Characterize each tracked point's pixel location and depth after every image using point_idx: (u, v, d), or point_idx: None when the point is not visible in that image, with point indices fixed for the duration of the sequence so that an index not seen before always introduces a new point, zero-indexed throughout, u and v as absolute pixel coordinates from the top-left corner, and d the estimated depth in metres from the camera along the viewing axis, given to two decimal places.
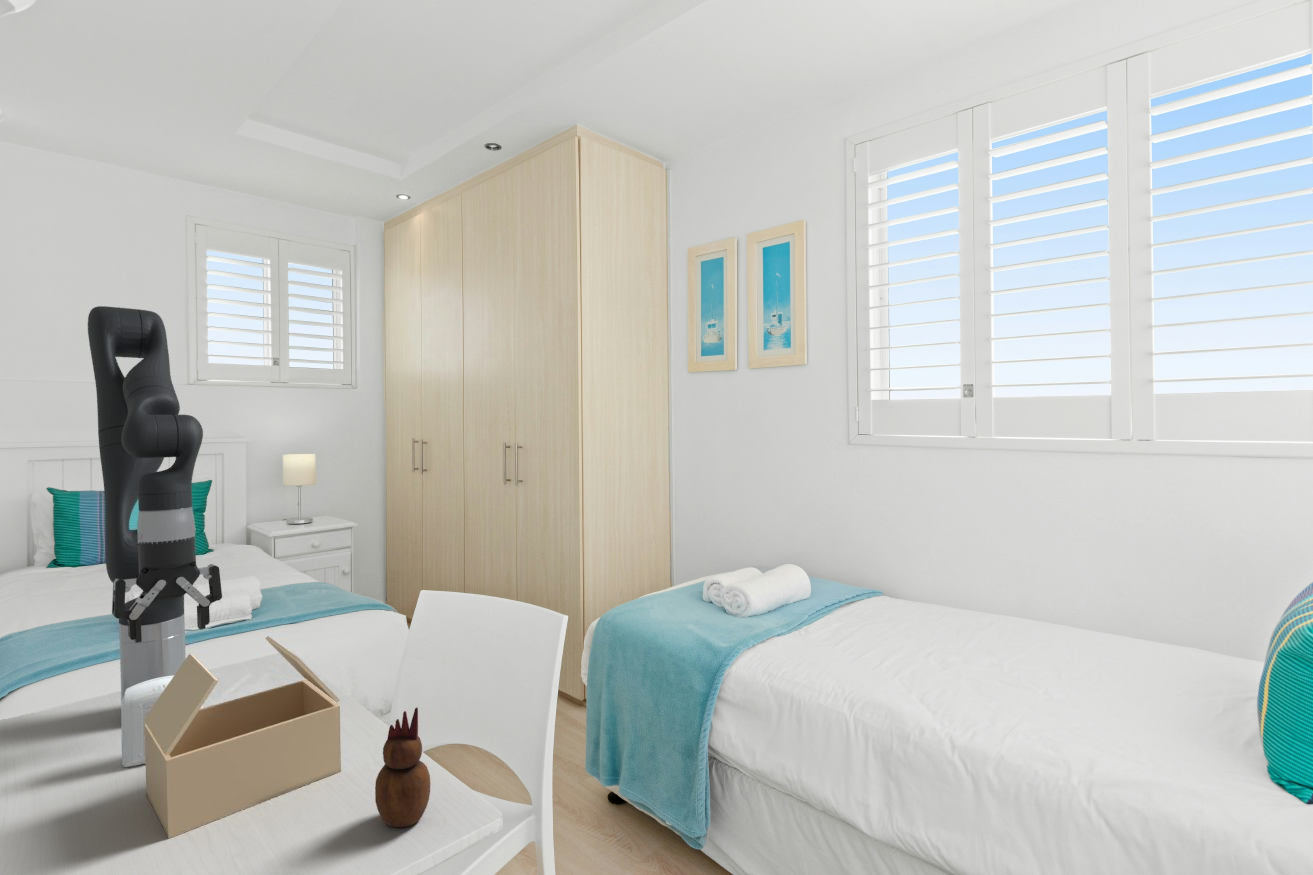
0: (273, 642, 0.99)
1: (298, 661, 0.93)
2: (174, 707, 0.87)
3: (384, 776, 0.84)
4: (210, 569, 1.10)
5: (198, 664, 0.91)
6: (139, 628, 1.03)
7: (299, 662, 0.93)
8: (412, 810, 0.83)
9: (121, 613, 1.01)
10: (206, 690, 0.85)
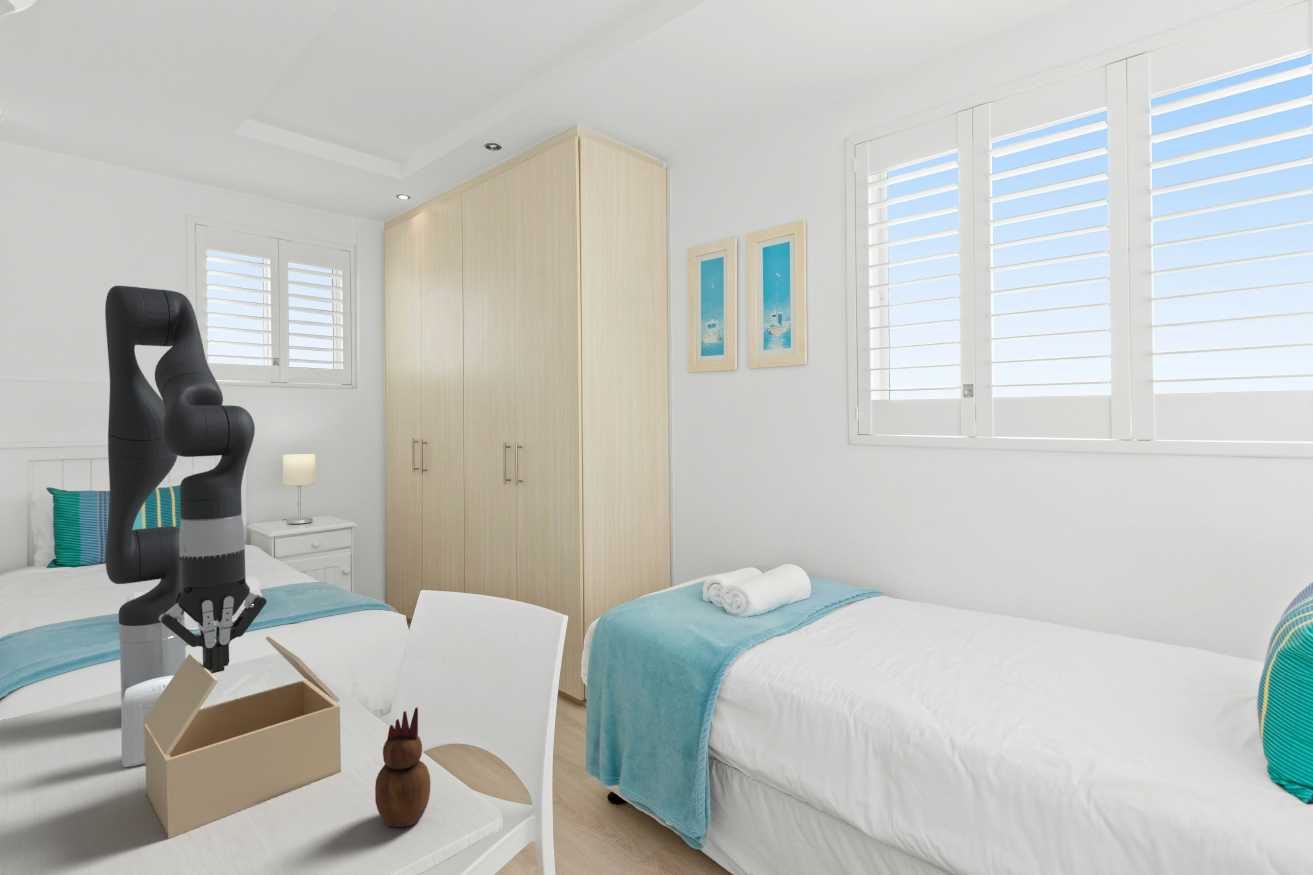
0: (273, 642, 0.99)
1: (298, 661, 0.93)
2: (174, 707, 0.87)
3: (384, 776, 0.84)
4: (258, 599, 0.94)
5: (198, 664, 0.91)
6: (216, 657, 0.90)
7: (299, 662, 0.93)
8: (412, 810, 0.83)
9: (197, 641, 0.88)
10: (206, 690, 0.85)
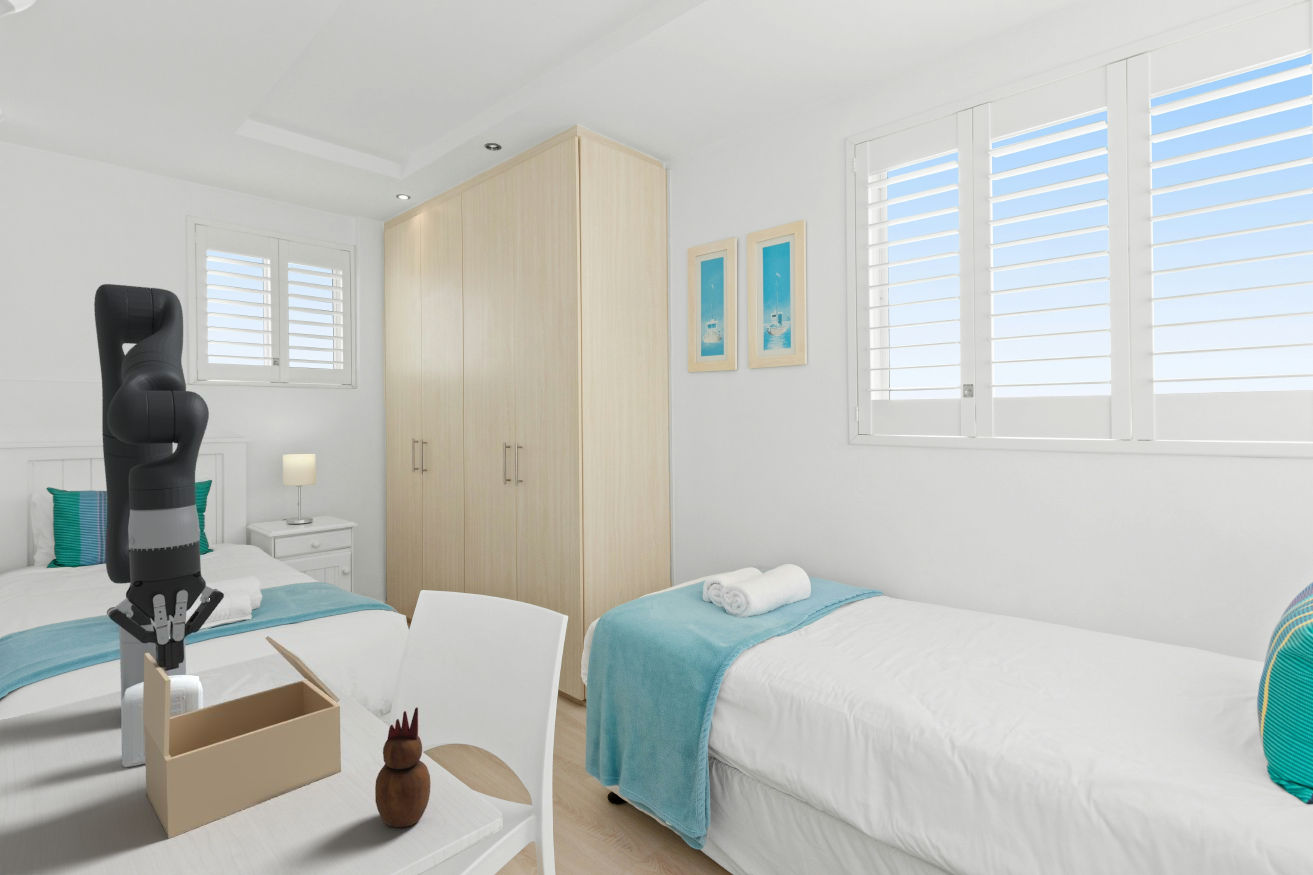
0: (273, 642, 0.99)
1: (298, 661, 0.93)
2: (154, 710, 0.86)
3: (384, 776, 0.84)
4: (214, 593, 0.90)
5: (152, 664, 0.87)
6: (169, 654, 0.86)
7: (299, 662, 0.93)
8: (412, 810, 0.83)
9: (148, 637, 0.84)
10: (164, 692, 0.82)
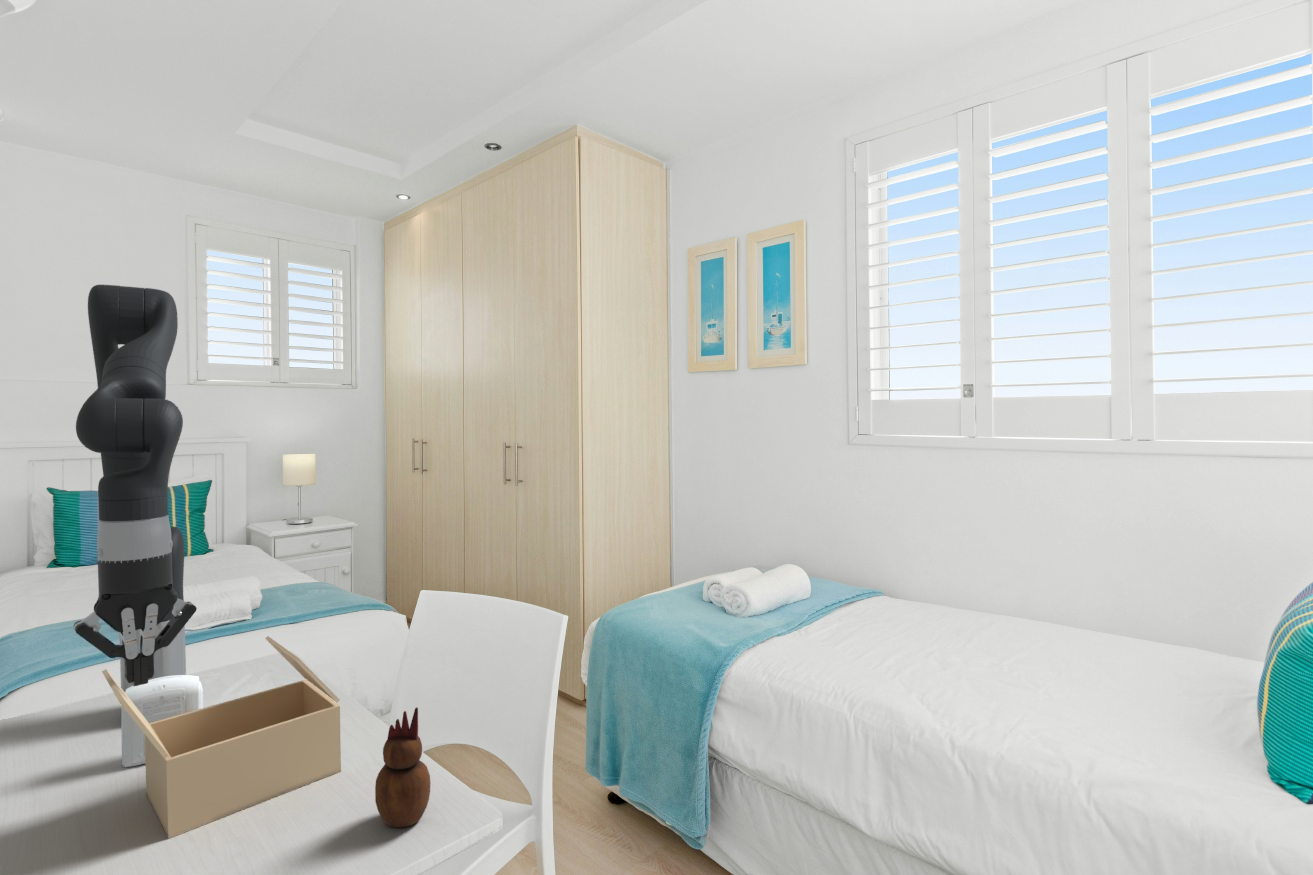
0: (273, 642, 0.99)
1: (298, 661, 0.93)
2: None
3: (384, 776, 0.84)
4: (186, 606, 0.88)
5: (109, 683, 0.84)
6: (138, 669, 0.84)
7: (299, 662, 0.93)
8: (412, 810, 0.83)
9: (116, 651, 0.82)
10: (126, 710, 0.79)
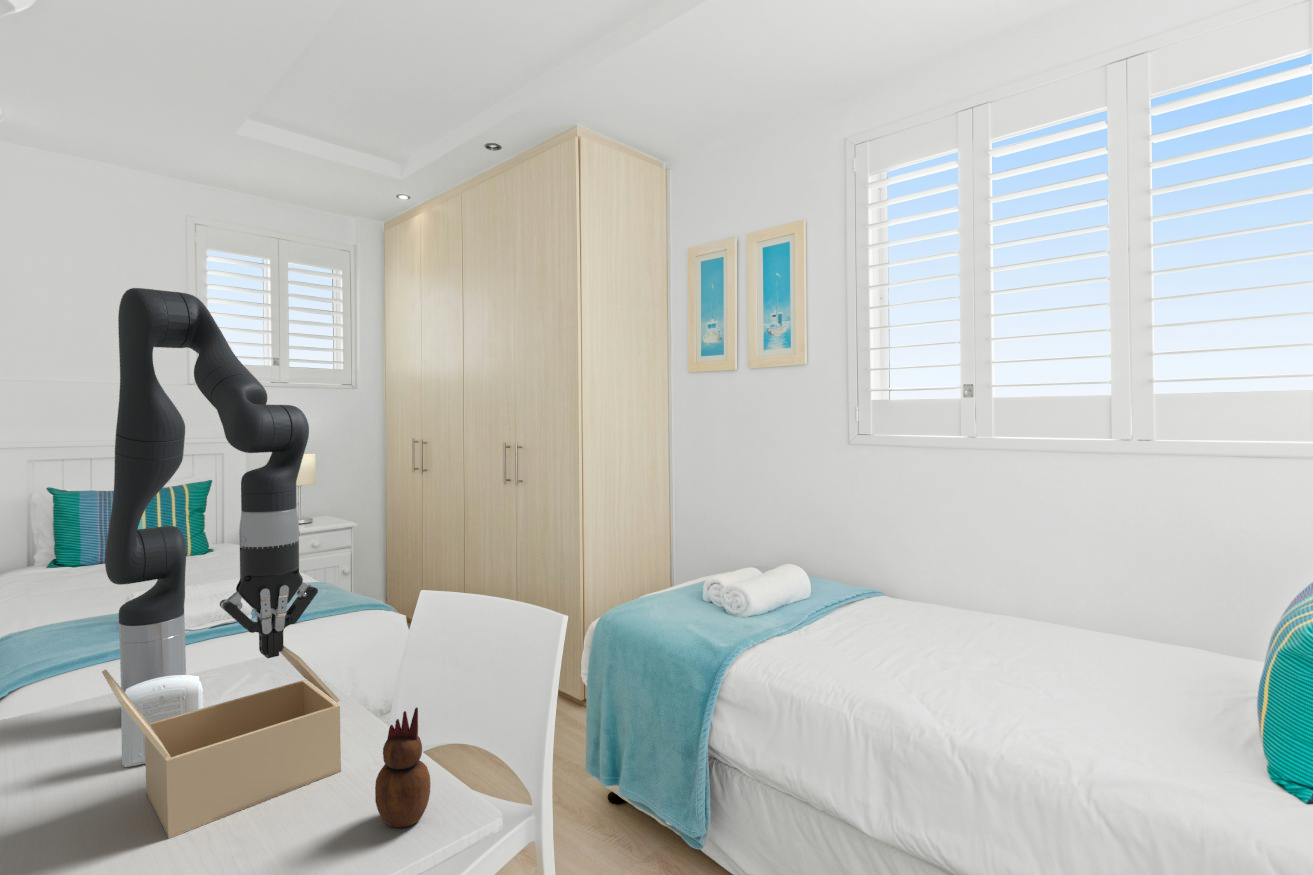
0: None
1: (299, 660, 0.93)
2: None
3: (384, 776, 0.84)
4: (310, 588, 0.99)
5: (108, 683, 0.84)
6: (271, 643, 0.95)
7: (300, 661, 0.93)
8: (412, 810, 0.83)
9: (255, 627, 0.93)
10: (126, 710, 0.79)
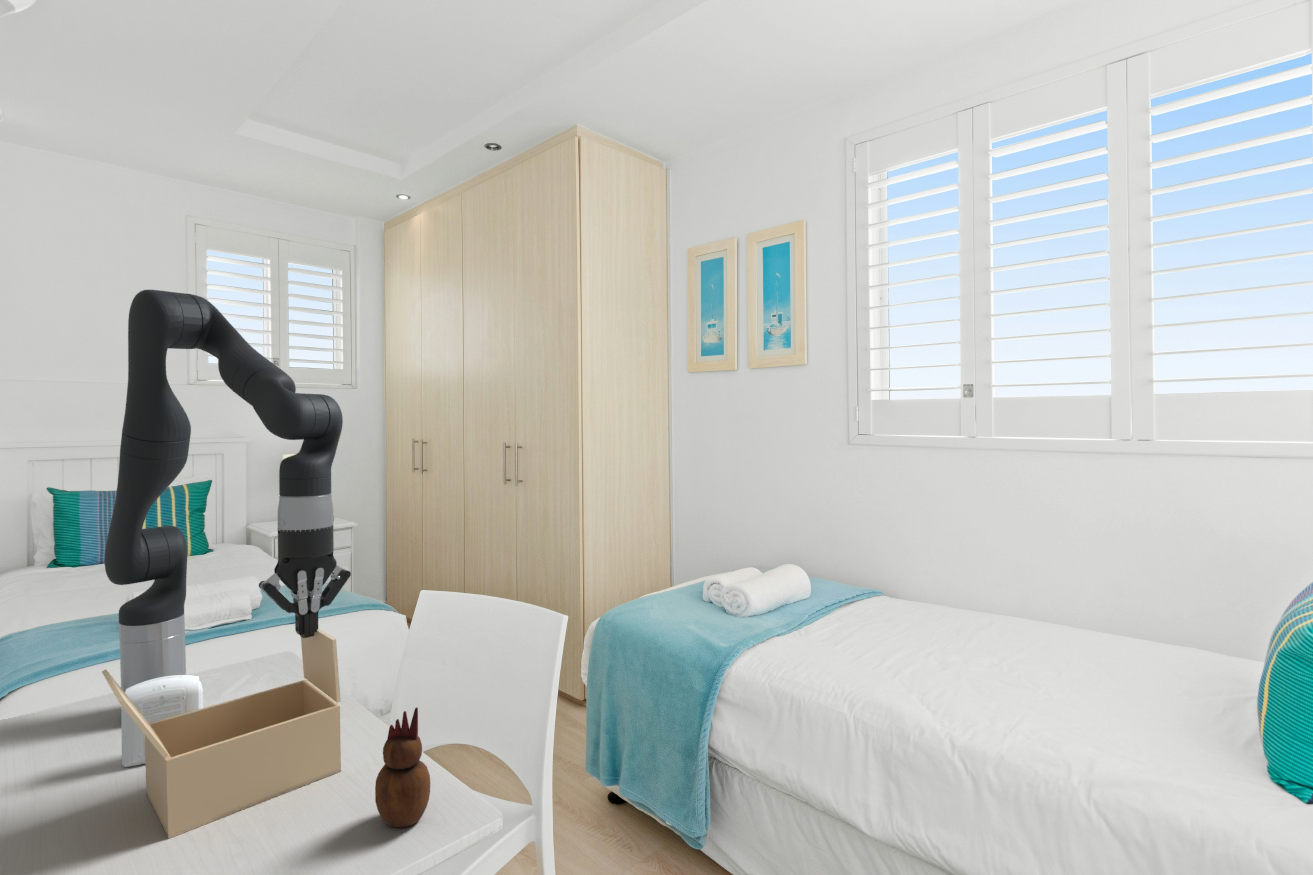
0: None
1: (333, 641, 0.96)
2: None
3: (384, 776, 0.84)
4: (343, 572, 1.03)
5: (108, 683, 0.84)
6: (307, 623, 0.99)
7: (334, 643, 0.96)
8: (412, 810, 0.83)
9: (292, 607, 0.97)
10: (126, 710, 0.79)
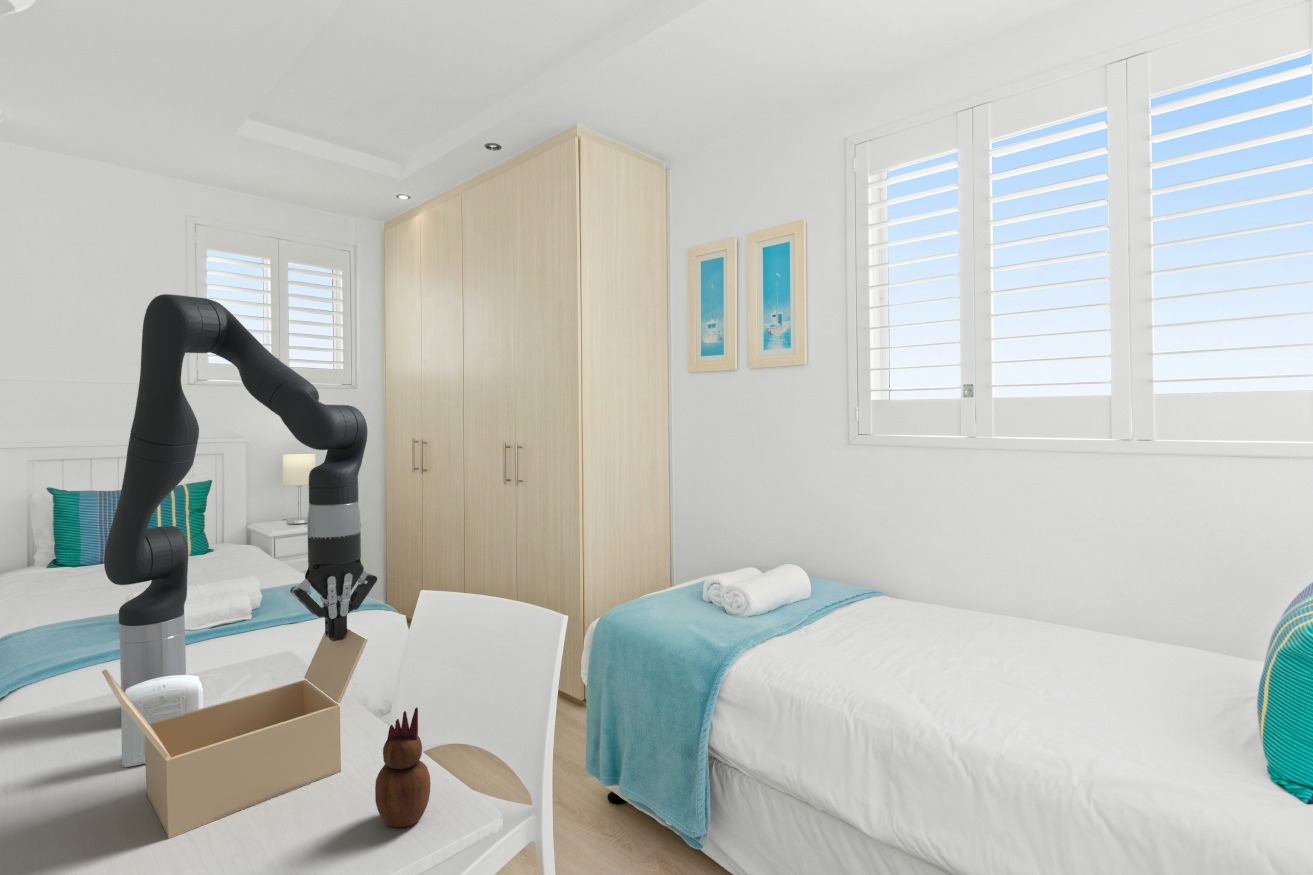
0: None
1: (365, 640, 1.00)
2: None
3: (384, 776, 0.84)
4: (370, 577, 1.06)
5: (108, 683, 0.84)
6: (337, 627, 1.02)
7: (364, 642, 0.99)
8: (412, 810, 0.83)
9: (322, 612, 1.00)
10: (126, 710, 0.79)
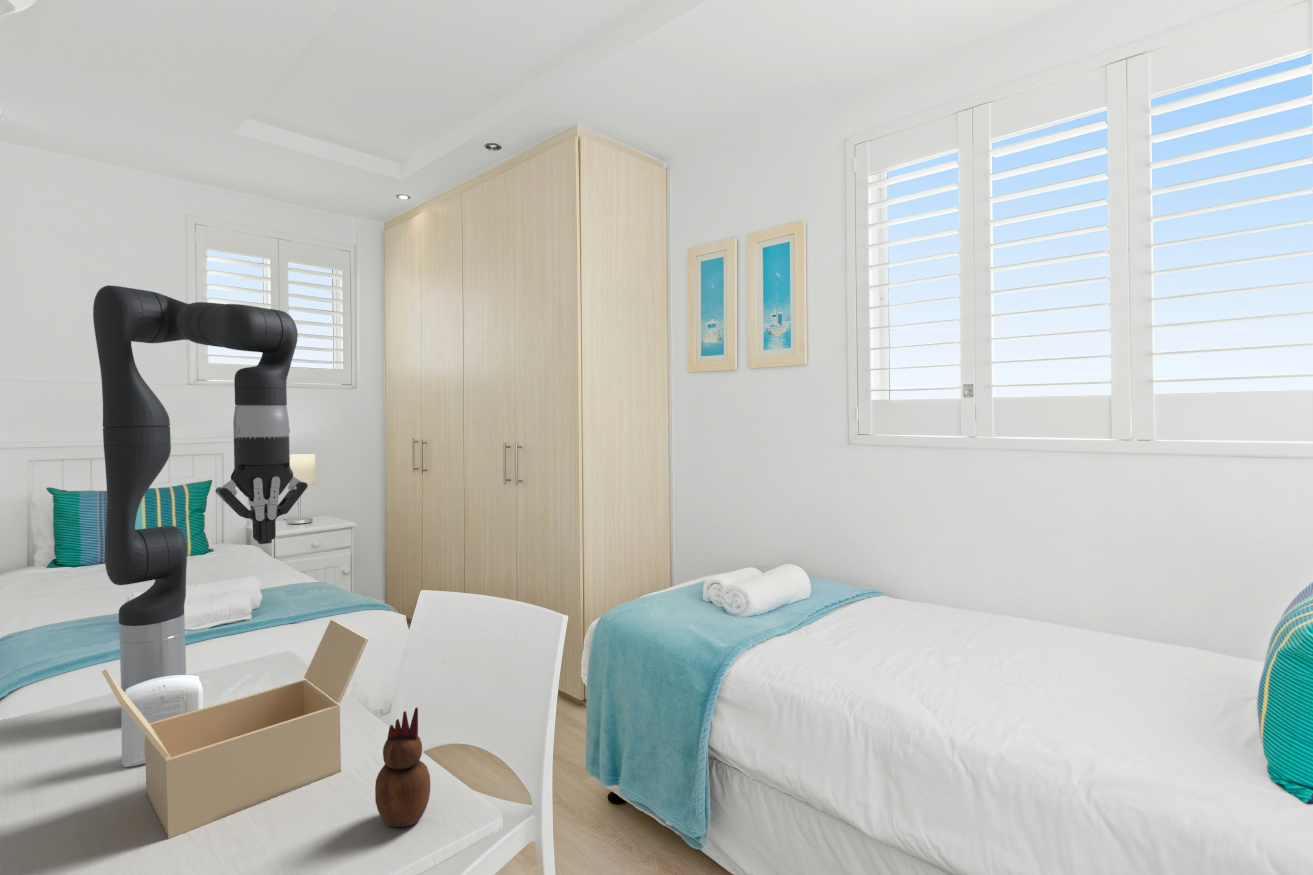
0: (340, 624, 1.07)
1: (365, 640, 1.00)
2: None
3: (384, 776, 0.84)
4: (300, 483, 1.06)
5: (108, 683, 0.84)
6: (264, 530, 1.02)
7: (365, 642, 0.99)
8: (412, 810, 0.83)
9: (248, 513, 1.00)
10: (126, 710, 0.79)
